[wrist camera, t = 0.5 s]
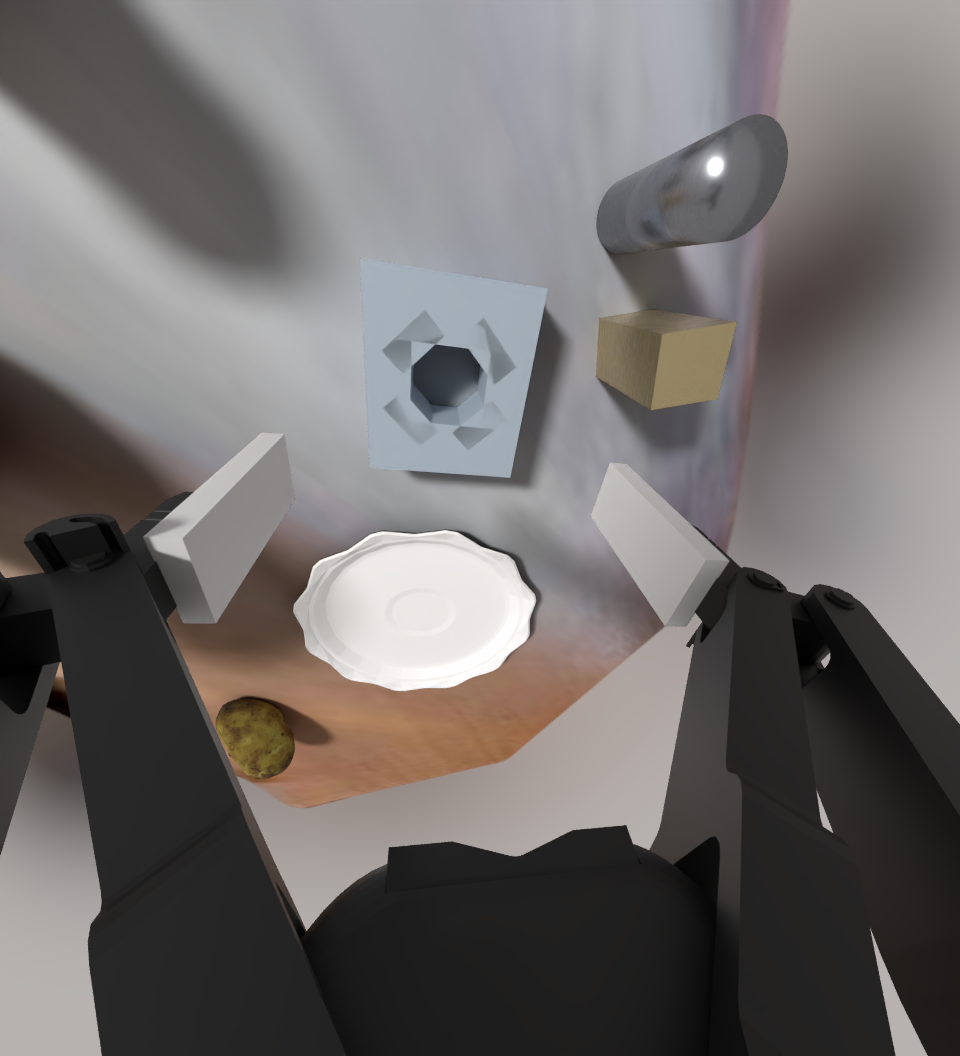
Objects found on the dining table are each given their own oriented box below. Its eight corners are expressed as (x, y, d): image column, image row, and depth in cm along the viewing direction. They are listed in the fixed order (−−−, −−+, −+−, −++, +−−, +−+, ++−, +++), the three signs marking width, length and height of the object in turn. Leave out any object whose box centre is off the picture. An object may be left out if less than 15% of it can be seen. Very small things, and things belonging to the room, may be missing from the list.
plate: (517, 669, 58) (520, 683, 56) (326, 682, 54) (322, 697, 52) (545, 517, 41) (551, 529, 39) (273, 521, 38) (264, 534, 36)
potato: (275, 685, 53) (253, 742, 46) (309, 727, 60) (294, 781, 54) (219, 694, 53) (189, 753, 46) (260, 735, 60) (239, 791, 54)
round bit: (607, 171, 25) (722, 103, 15) (662, 184, 25) (807, 126, 16) (589, 248, 27) (678, 233, 17) (640, 258, 28) (753, 248, 18)
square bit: (599, 318, 30) (662, 334, 22) (653, 309, 30) (737, 321, 22) (596, 376, 32) (650, 410, 24) (646, 368, 32) (717, 399, 24)
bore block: (371, 260, 26) (359, 257, 22) (531, 286, 28) (547, 288, 24) (376, 444, 34) (369, 467, 30) (501, 454, 36) (510, 477, 32)
